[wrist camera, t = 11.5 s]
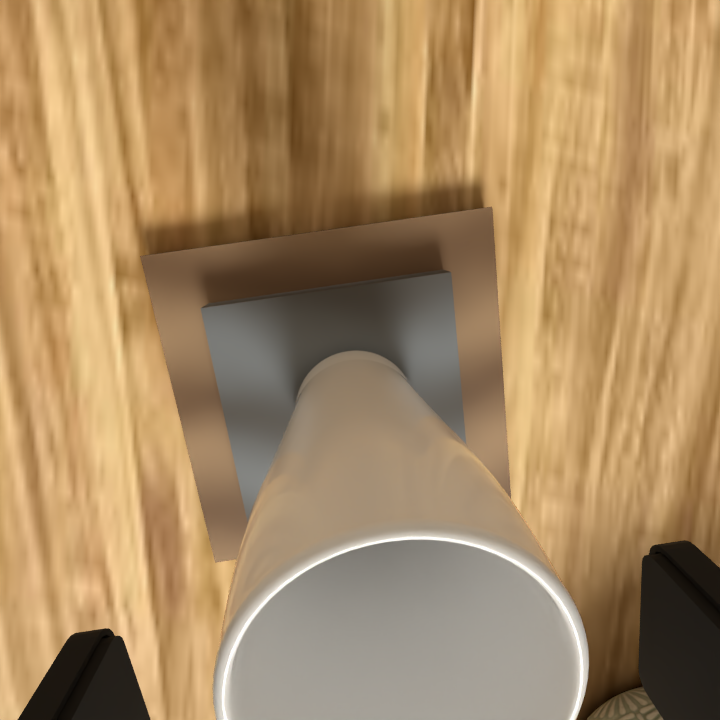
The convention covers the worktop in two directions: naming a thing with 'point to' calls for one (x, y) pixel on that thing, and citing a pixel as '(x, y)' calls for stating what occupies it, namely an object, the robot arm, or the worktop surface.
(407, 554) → the drinking glass
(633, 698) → the planter
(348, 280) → the base
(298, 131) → the worktop surface
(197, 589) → the worktop surface
